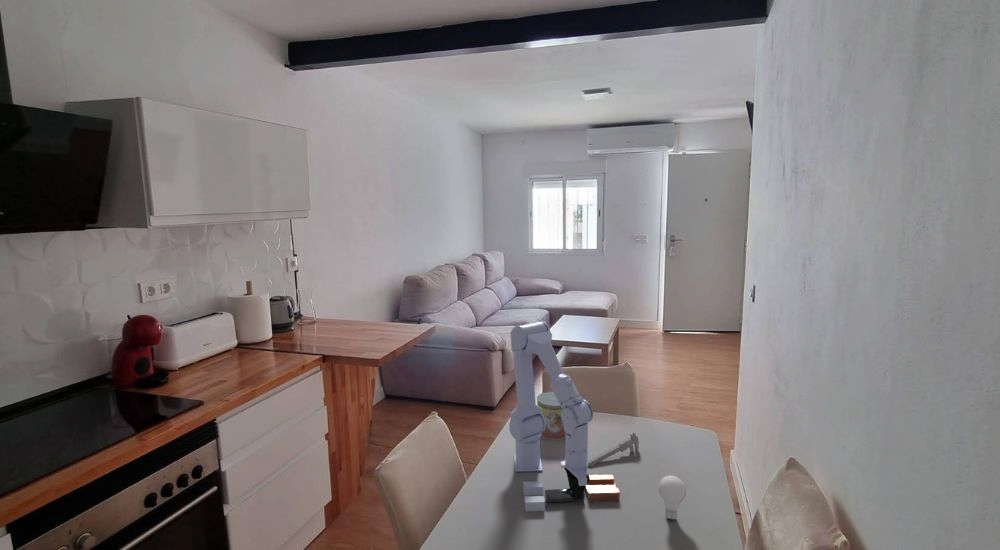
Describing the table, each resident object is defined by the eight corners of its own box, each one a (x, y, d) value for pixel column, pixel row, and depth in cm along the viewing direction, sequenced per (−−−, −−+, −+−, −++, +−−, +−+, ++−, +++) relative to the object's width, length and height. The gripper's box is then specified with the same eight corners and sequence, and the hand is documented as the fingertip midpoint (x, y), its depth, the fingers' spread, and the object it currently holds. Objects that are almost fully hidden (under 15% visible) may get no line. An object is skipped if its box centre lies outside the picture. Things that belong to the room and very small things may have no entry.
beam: (523, 489, 131) (523, 481, 131) (541, 489, 131) (541, 481, 131) (525, 511, 122) (525, 502, 122) (544, 511, 122) (544, 502, 122)
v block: (583, 483, 134) (583, 475, 133) (612, 483, 134) (612, 474, 133) (589, 501, 126) (589, 492, 126) (619, 501, 126) (619, 492, 126)
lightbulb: (662, 506, 123) (664, 467, 122) (688, 516, 120) (690, 476, 118) (653, 519, 119) (655, 478, 117) (679, 530, 115) (681, 488, 113)
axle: (547, 505, 125) (547, 494, 124) (544, 497, 128) (544, 487, 127) (584, 502, 126) (584, 492, 125) (581, 495, 128) (581, 485, 128)
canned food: (537, 439, 158) (537, 405, 156) (536, 423, 169) (536, 391, 167) (571, 439, 158) (572, 405, 156) (568, 423, 169) (568, 391, 167)
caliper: (636, 449, 152) (636, 431, 150) (638, 451, 151) (639, 432, 150) (583, 467, 142) (583, 447, 141) (585, 468, 141) (586, 449, 140)
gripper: (555, 434, 131) (555, 479, 133) (567, 463, 117) (566, 513, 119) (581, 432, 132) (580, 477, 134) (595, 461, 118) (594, 511, 120)
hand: (575, 494), depth 127 cm, fingers closed on axle, 3 cm apart
